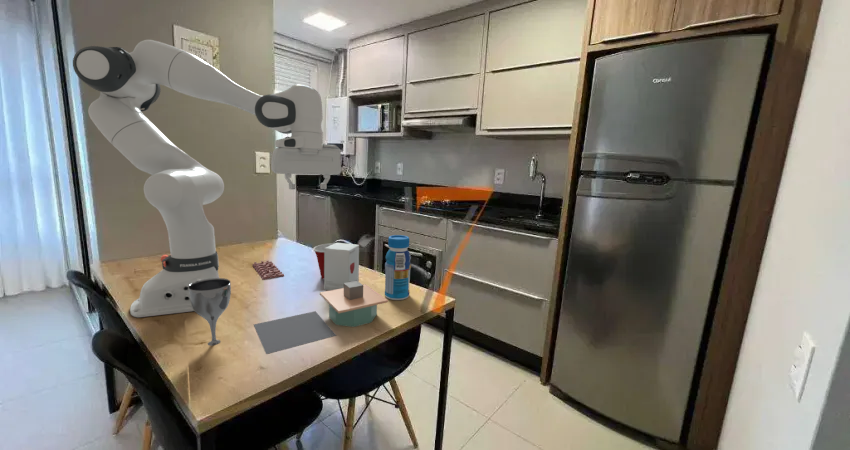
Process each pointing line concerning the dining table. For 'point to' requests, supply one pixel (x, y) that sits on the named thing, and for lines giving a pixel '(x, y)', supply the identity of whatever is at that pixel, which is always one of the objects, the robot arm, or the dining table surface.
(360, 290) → the cover
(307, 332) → the mat
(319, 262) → the plastic cup
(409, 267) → the beverage bottle
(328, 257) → the supplement box
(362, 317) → the bowl
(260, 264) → the chocolate bar
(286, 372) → the dining table surface
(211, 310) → the wine glass
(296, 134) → the robot arm
